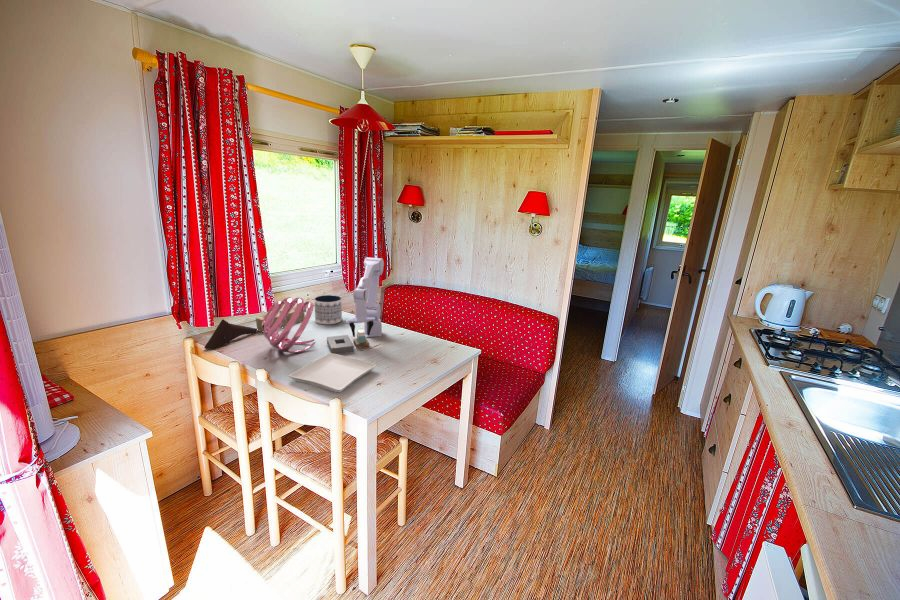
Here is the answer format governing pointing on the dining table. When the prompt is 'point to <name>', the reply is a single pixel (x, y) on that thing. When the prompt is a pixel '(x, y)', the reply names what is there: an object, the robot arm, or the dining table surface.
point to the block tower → (285, 322)
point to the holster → (227, 334)
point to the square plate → (333, 372)
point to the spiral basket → (275, 328)
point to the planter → (328, 309)
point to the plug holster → (361, 344)
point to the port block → (340, 344)
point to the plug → (361, 336)
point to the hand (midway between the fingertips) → (361, 335)
